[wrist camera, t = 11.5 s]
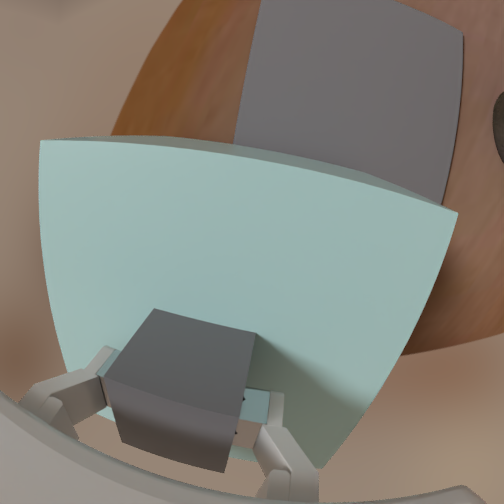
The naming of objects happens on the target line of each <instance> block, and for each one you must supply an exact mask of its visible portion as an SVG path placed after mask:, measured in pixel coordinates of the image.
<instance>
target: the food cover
mask: <svg viewBox="0 0 504 504" xmlns="http://www.w3.org/2000/svg"><path fill="white" fill-rule="evenodd" d="M457 217H458V213H457V212H455V211H453V210H451V209H449V208H447V207H445V206H442V205H440V204H438V203H436V202H434V201H432V200H430V199H427V198H425V197H423V196H421V195H419V194H416V193H414V192H412V191H409V190H407V189H405V188H402V187H400V186H398V185H395V184H393V183H390V182H388V181H385V180H383V179H380V178H378V177H375V176H373V175H370V174H367V173H365V172H361V171H358V170H354V169H350V168H346V167H342V166H338V165H334V164H330V163H326V162H322V161H317V160H313V159H309V158H304V157H299V156H295V155H290V154H285V153H280V152H274V151H269V150H264V149H258V148H252V147H246V146H240V145H234V144H227V143H220V142H213V141H205V140H197V139H189V138H179V137H169V136H97V137H78V138H77V137H76V138H63V139H51V140H41V141H40V155H39V218H40V233H41V245H42V254H43V263H44V270H45V277H46V283H47V289H48V295H49V301H50V306H51V310H52V315H53V320H54V324H55V328H56V332H57V336H58V340H59V344H60V348H61V351H62V355H63V358H64V362H65V365H66V368H67V371H68V373H69V372H72V371H75V370H78V369H81V368H82V369H85V368H86V367H87V365H88V364H89V363H90V362H91V360H92V359H93V358H94V357H95V356H96V354H97V353H98V352H99V351H100V349H101V348H102V347H103V346H106V345H107V346H109V347H112V348H114V349H117V350H120V351H121V353H120V354H119V355H118V357H117V358H116V359H115V361H114V362H113V364H112V365H111V366H110V368H109V369H108V370H107V372H106V373H105V375H104V381H105V385H106V389H107V393H108V397H109V400H110V404H111V408H110V407H108V406H107V407H106V408H104V409H103V410H101V411H99V412H97V413H96V414H98V415H101V416H103V417H105V418H107V419H110V420H112V421H115V422H116V425H117V428H118V431H119V434H120V437H121V440H122V442H123V443H126V444H128V445H131V446H133V447H136V448H139V449H141V450H144V451H147V452H150V453H152V454H155V455H158V456H162V457H164V458H168V459H171V460H174V461H177V462H181V463H184V464H188V465H192V466H196V467H200V468H203V469H208V470H212V471H216V472H221V473H224V471H225V467H226V464H227V460H228V457H232V458H237V459H242V460H248V461H254V462H258V461H257V459H256V457H255V455H254V452H253V449H249V448H244V447H240V446H235V445H232V442H233V438H234V435H235V431H236V427H237V424H238V420H239V416H240V411H241V406H242V401H243V396H244V391H245V386H248V387H253V388H259V389H264V390H270V391H276V392H282V393H284V412H283V427H285V428H287V429H288V431H289V432H290V433H291V435H292V436H293V438H294V439H295V441H296V442H297V444H298V445H299V446H300V448H301V449H302V451H303V452H304V453H305V455H306V456H307V458H308V459H309V460H310V462H311V463H312V464H313V466H314V467H315V468H320V469H322V468H323V467H324V466H325V465H326V463H327V462H328V461H329V460H330V459H331V457H332V456H333V455H334V454H335V452H336V451H337V450H338V449H339V447H340V446H341V445H342V444H343V442H344V441H345V440H346V438H347V437H348V436H349V434H350V433H351V432H352V430H353V429H354V428H355V426H356V425H357V423H358V422H359V420H360V419H361V418H362V416H363V415H364V413H365V412H366V410H367V409H368V407H369V406H370V404H371V403H372V401H373V400H374V398H375V397H376V395H377V394H378V392H379V390H380V389H381V387H382V386H383V384H384V382H385V381H386V379H387V377H388V376H389V374H390V372H391V371H392V369H393V367H394V365H395V364H396V362H397V360H398V358H399V356H400V355H401V353H402V351H403V349H404V347H405V345H406V343H407V341H408V340H409V338H410V336H411V334H412V332H413V330H414V328H415V326H416V324H417V321H418V319H419V317H420V315H421V313H422V311H423V309H424V306H425V304H426V302H427V300H428V297H429V295H430V293H431V290H432V288H433V285H434V283H435V280H436V278H437V275H438V273H439V270H440V268H441V265H442V262H443V260H444V257H445V254H446V251H447V248H448V245H449V242H450V239H451V236H452V233H453V230H454V227H455V223H456V220H457Z"/></svg>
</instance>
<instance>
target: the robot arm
mask: <svg viewBox="0 0 504 504" xmlns="http://www.w3.org/2000/svg"><path fill="white" fill-rule="evenodd" d="M120 353H121V351H120V350H117V349H114V348H112V347H109V346H107V345H106V346H103V347H102V348H101V349H100V351H99V352H98V353H97V354H96V356H95V357H94V358H93V359H92V360H91V362H90V363H89V364H88V365H87V367H86V368H85V369H82V368H81V369H78V370H75V371H72V372H69V373H66V374H63V375H61V376H57V377H54V378H51V379H48V380H45V381H43V382H39V383H36V384H34V385H33V386H32V387H31V389H30V390H29V391H28V392H27V393H26V394H25V396H24V397H23V398H22V399H21V400H20V401H19V403H16V402H15V401H14V400H12V399H11V398H10V397H8V396H7V395H6V394H4V393H3V392H2V391H0V504H486V502H485V501H484V500H483V499H482V498H481V497H480V496H478V495H477V494H476V493H474V492H473V491H472V490H471V489H470V488H468V487H467V486H464V485H460V486H454V487H450V488H446V489H442V490H438V491H434V492H429V493H424V494H419V495H413V496H407V497H401V498H394V499H385V500H376V501H364V502H343V503H319V480H318V479H319V473H318V471H317V470H316V468H315V467H314V466H313V464H312V463H311V462H310V460H309V459H308V458H307V456H306V455H305V453H304V452H303V451H302V449H301V448H300V446H299V445H298V444H297V442H296V441H295V439H294V438H293V436H292V435H291V433H290V432H289V431H288V429H287V428H285V427H283V412H284V393H282V392H276V391H270V390H264V389H259V388H253V387H248V386H245V391H244V396H243V401H242V406H241V411H240V416H239V420H238V424H237V427H236V431H235V435H234V438H233V442H232V445H235V446H240V447H244V448H249V449H253V452H254V455H255V457H256V459H257V461H258V463H259V465H260V467H261V469H262V471H263V473H264V475H265V477H266V479H265V481H264V483H263V484H262V486H261V487H260V489H259V490H258V492H257V494H256V496H255V498H254V497H248V496H242V495H236V494H230V493H225V492H220V491H215V490H210V489H206V488H202V487H198V486H194V485H191V484H187V483H183V482H180V481H176V480H173V479H170V478H166V477H163V476H160V475H157V474H154V473H151V472H149V471H146V470H143V469H140V468H138V467H135V466H133V465H129V464H127V463H125V462H123V461H120V460H118V459H115V458H113V457H111V456H108V455H106V454H104V453H102V452H100V451H98V450H96V449H94V448H92V447H89V446H87V445H86V444H84V443H81V442H80V441H78V439H79V437H78V435H77V433H76V431H75V429H74V427H73V425H75V424H77V423H78V422H81V421H83V420H84V419H86V418H88V417H90V416H92V415H93V414H95V413H97V412H99V411H101V410H103V409H104V408H106V407H107V406H108V407H110V408H111V404H110V400H109V397H108V393H107V389H106V385H105V381H104V375H105V373H106V372H107V370H108V369H109V368H110V366H111V365H112V364H113V362H114V361H115V359H116V358H117V357H118V355H119V354H120Z"/></svg>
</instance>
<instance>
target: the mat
mask: <svg viewBox="0 0 504 504" xmlns="http://www.w3.org/2000/svg"><path fill="white" fill-rule="evenodd" d="M462 68H463V32H461V31H459V30H457V29H456V28H454V27H452V26H450V25H448V24H446V23H444V22H442V21H440V20H438V19H436V18H434V17H432V16H430V15H428V14H425V13H423V12H421V11H419V10H416V9H414V8H411V7H409V6H407V5H404V4H402V3H399V2H396V1H394V0H262V1H261V5H260V10H259V14H258V19H257V23H256V28H255V32H254V37H253V42H252V46H251V51H250V56H249V61H248V66H247V71H246V76H245V81H244V86H243V92H242V97H241V102H240V108H239V113H238V119H237V124H236V130H235V136H234V141H233V144H234V145H240V146H246V147H252V148H258V149H264V150H269V151H274V152H280V153H285V154H290V155H295V156H299V157H304V158H309V159H313V160H317V161H322V162H326V163H330V164H334V165H338V166H342V167H346V168H350V169H354V170H358V171H361V172H365V173H367V174H370V175H373V176H375V177H378V178H380V179H383V180H385V181H388V182H390V183H393V184H395V185H398V186H400V187H402V188H405V189H407V190H409V191H412V192H414V193H416V194H419V195H421V196H423V197H425V198H427V199H430V200H432V201H434V202H436V203H438V204H440V205H441V203H442V199H443V195H444V191H445V187H446V183H447V178H448V174H449V169H450V164H451V159H452V154H453V149H454V143H455V137H456V130H457V123H458V116H459V107H460V97H461V85H462Z"/></svg>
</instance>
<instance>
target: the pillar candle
mask: <svg viewBox="0 0 504 504" xmlns="http://www.w3.org/2000/svg"><path fill="white" fill-rule="evenodd" d="M493 131H494V138H495V143H496V146H497V149H498V152H499V155H500V157H501V159H502V161H503V163H504V92H503V93H502V94H500V96H499V97H498V99H497V101H496V103H495V106H494V111H493Z"/></svg>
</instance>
